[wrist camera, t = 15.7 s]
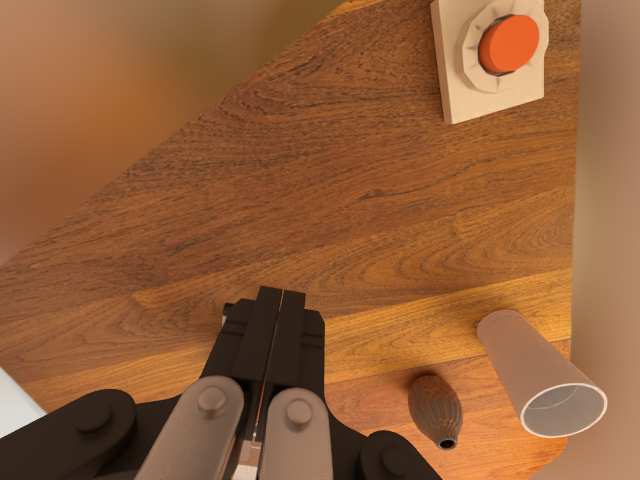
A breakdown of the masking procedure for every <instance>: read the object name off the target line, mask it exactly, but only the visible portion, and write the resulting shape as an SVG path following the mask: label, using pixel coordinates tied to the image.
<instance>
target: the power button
mask: <svg viewBox="0 0 640 480" xmlns="http://www.w3.org/2000/svg"><path fill="white" fill-rule="evenodd" d="M538 43H539V29H538V26H537V24H536V22H535V21H534V20H533V19H532V18H530V17H529V16H526V15H515V16H512V17H510V18H507V19H505V20H503V21H501V22H498V23H497V24H495V25H494V26H492V27H491V28H490V29H489V30H488V31H487V33H486V34H485V36H484V37H483V40H482V42H481V45H480V60H481V62H482V64H483V66H484V67H485V68H486V69H487V70H489V71H491V72H495V73H500V72H507V71H513V70H516V69H519V68H520V67H522V66H524V65H525V64H526V63H527V62H528V61H529V60H530V59H531V58H532V56H533V55H534V53H535V51H536V49H537V47H538Z"/></svg>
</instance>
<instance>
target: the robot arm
mask: <svg viewBox="0 0 640 480" xmlns="http://www.w3.org/2000/svg"><path fill="white" fill-rule="evenodd" d="M282 290H283V289H277V288H272V287H266V286H261V287H260V290H259V293H258V296H257V299H256V301H255V300H249V299H243V298H241V299H240V300H239V301H238V302H237V303H235V304H234V305H233V306H232V307H231V308H230V310H229V313H228V315H227V317H226V319H225V322H224V324H223V326H222V328H221V332H220V333H219V335H218V337H217V340H216V342H215V344H214V347H213V349H212V351H211V353H210V356H209V358H208V360H207V362H206V365H205V367H204V369H203V372H202V374H201V376H200V377H199V379H198V380H197V381H195V382H194V383H192V384H191V385H190V386H189V387H188V388H187V389H186V390H185V391H184V392H183V393H182V394H180V395H177V396H175V397H172V398H169V399H165V400H160V401H153V402H147V403H140V404H135V402H134V400H133V398H132V397H131V396H130V395H129V394H128V393H126V392H124V391H121V390H117V389H104V390H99V391H95V392H92V393H89V394H87V395H84V396H82V397H80V398H78V399H76V400H74V401H72V402H70V403H68V404H66V405H65V406H63V407H61V408H59V409H57V410H55V411H53V412H51V413H49V414H47V415H45V416H43V417H41V418H39V419H37V420H35V421H33V422H31V423H30V424H28V425H26V426H24V427H22V428H20V429H18V430H16V431H14V432H12V433H10V434H8V435H6V436H4V437H2V438H1V439H0V480H233V477H234V473H235V471H236V469H237V466H238V463H239V459H240V455H241V450H242V446H243V442H244V440H245V441H252V439H253V434H254V430H255V425H256V420H257V416H258V411H259V406H260V402H261V407H260V413H259V419H258V425H257V431H256V436H255V442H261V443H262V445H261V450H260V456H259V461H258V467H257V472H256V477H255V480H442V478H441V477H440V476H439V475H438V474H437V473H436V471H435V470H434V469H433V468H432V467H431V466H430V465H429V463H428V462H427V461H426V460H425V459H424V458H423V457H422V455H421V454H420V453H419V452H418V451H417V450H416V448H415V447H414V446H413V445H412V444H411V443H410V442H409V441H408V440H406V439H405V438H404V437H402V436H401V435H399V434H397V433H395V432H391V431H386V430H381V431H376V432H374V433H372V434H370V435H369V436H368V437H367V436H365V435H363V434H361V433H359V432H357V431H355V430H353V429H351V428H349V427H347V426H345V425H344V424H342V423H341V422H340V421H338V420H337V419H336V418H335V417H334V416H333V414H332V413H331V412H330V410H329V408H328V407H327V404H326V401H325V397H324V347H325V339H324V337H325V323H324V321H323V319H322V317H321V315H320V313H319V311H314V310H308V309H304V306H305V296H306V293H301V292H295V291H289V290H284V294H283V299H282V304H281V308H280V302H281V297H282ZM279 308H280V313H279ZM278 314H279V318H278ZM277 319H278V322H277ZM276 325H277V327H276ZM275 330H276V332H275ZM272 345H273V346H272ZM271 350H272V351H271ZM269 359H270V360H269ZM268 364H269V365H268ZM265 378H266V379H265ZM264 383H265V384H264ZM263 388H264V390H263ZM262 392H263V396H262ZM261 397H262V401H261Z"/></svg>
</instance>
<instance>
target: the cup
mask: <svg viewBox="0 0 640 480" xmlns="http://www.w3.org/2000/svg"><path fill="white" fill-rule="evenodd" d="M477 337H478V339H479V340H480V342H481V344H482V345H483V347H484V349H485V351H486V353H487V355H488V357H489V359H490V361H491V363H492V365H493V367H494V369H495V371H496V373H497V375H498V377H499V379H500V381H501V383H502V385H503V387H504V389H505V391H506V393H507V395H508V397H509V399H510V401H511V403H512V405H513V407H514V410H515V412H516V414H517V416H518V418H519V420H520V422H521V424H522V426H523V427H524V428H525V429H526V430H527V431H528V432H530V433H532V434H534V435H537V436H540V437H548V438H557V437H565V436H569V435H573V434H576V433H579V432H581V431H583V430H585V429H587V428H589V427H591V426H592V425H593V424H595V423H596V422H597V421H598V420H599V419H600V418H601V417H602V416H603V414H604V413H605V411H606V408H607V398H606V395H605V394H604V392H603V391H602V390H601V389H600V388H598V387H597V386H596V385H595V384H594V383H593V382H592V381H591V380H590V379H589V378H587V377H586V376H585V375H584V374H583V373H582V372H581V371H580V370H579V369H578V368H577V367H576V366H575V365H573V364H572V363H570V362H569V361H568V360H567V359H566V358H565V357H564V356H563V355H562V354H561V353H560V352H559V351H558V350H557V349H556V348H555V347H553V346H552V345H551V344H550V343H549V342H548V341H547V340H546V339H545V338H544V337H543V336H542V335H541V334H540V333H539V332H538V331H537V330H536V329H535V328H534V327H532V326H531V325H530V323H529V322H528V321H527V320H526V319H525V317H524V316H523V315H522V314H521V313H519V312H517V311H515V310H510V309H503V310H498V311H494V312H492V313H490V314H488V315H487V316H485V317H484V318H483V319H482V320H481V321H480V323H479V324H478V327H477Z"/></svg>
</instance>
